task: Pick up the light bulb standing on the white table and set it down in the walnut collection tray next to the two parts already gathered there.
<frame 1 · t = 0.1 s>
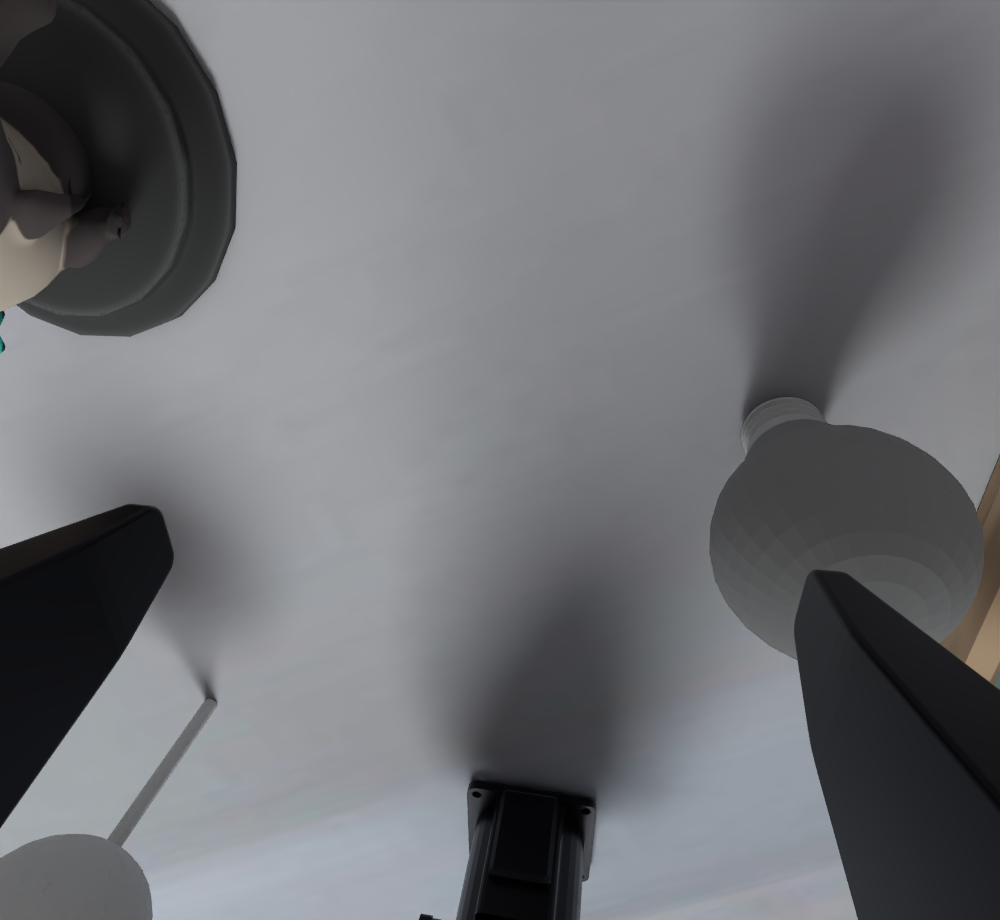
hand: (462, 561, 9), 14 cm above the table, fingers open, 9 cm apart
lollipop: (213, 700, 35), on the table
figurine: (85, 160, 23), on the table
light bulb: (778, 424, 23), on the table
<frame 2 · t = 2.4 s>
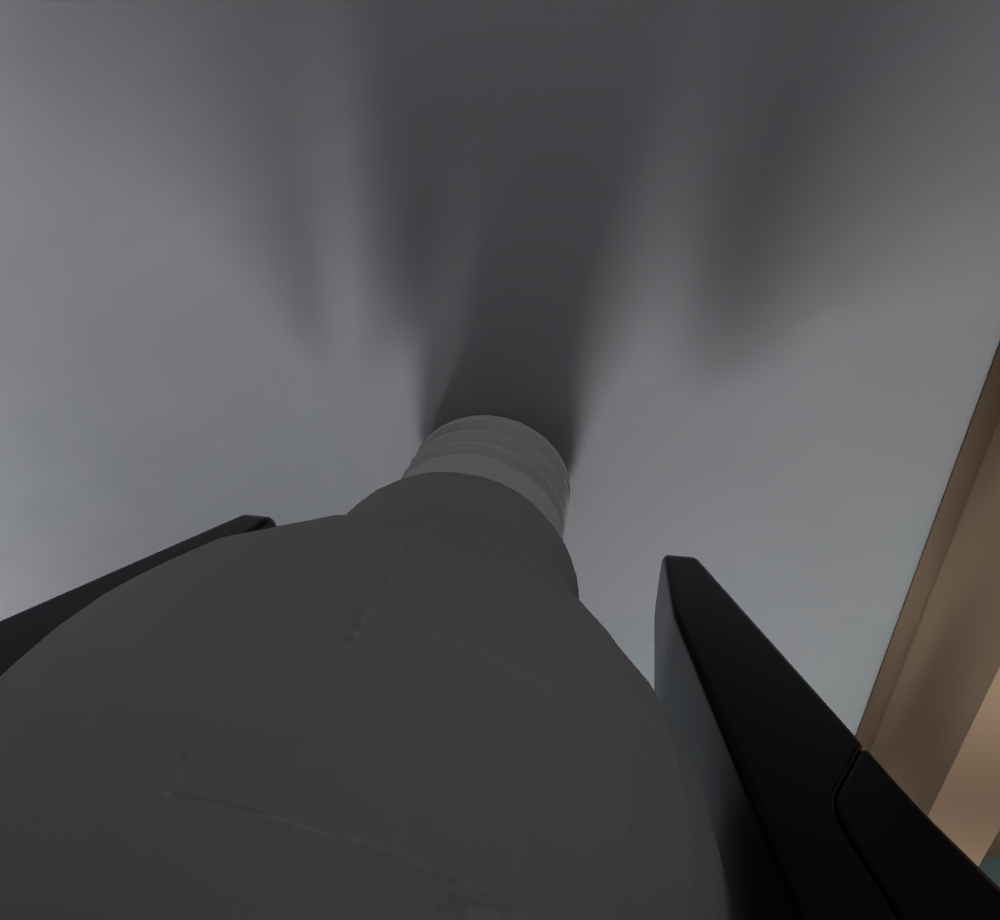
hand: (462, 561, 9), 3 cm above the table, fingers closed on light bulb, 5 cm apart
light bulb: (496, 466, 11), on the table, touching gripper
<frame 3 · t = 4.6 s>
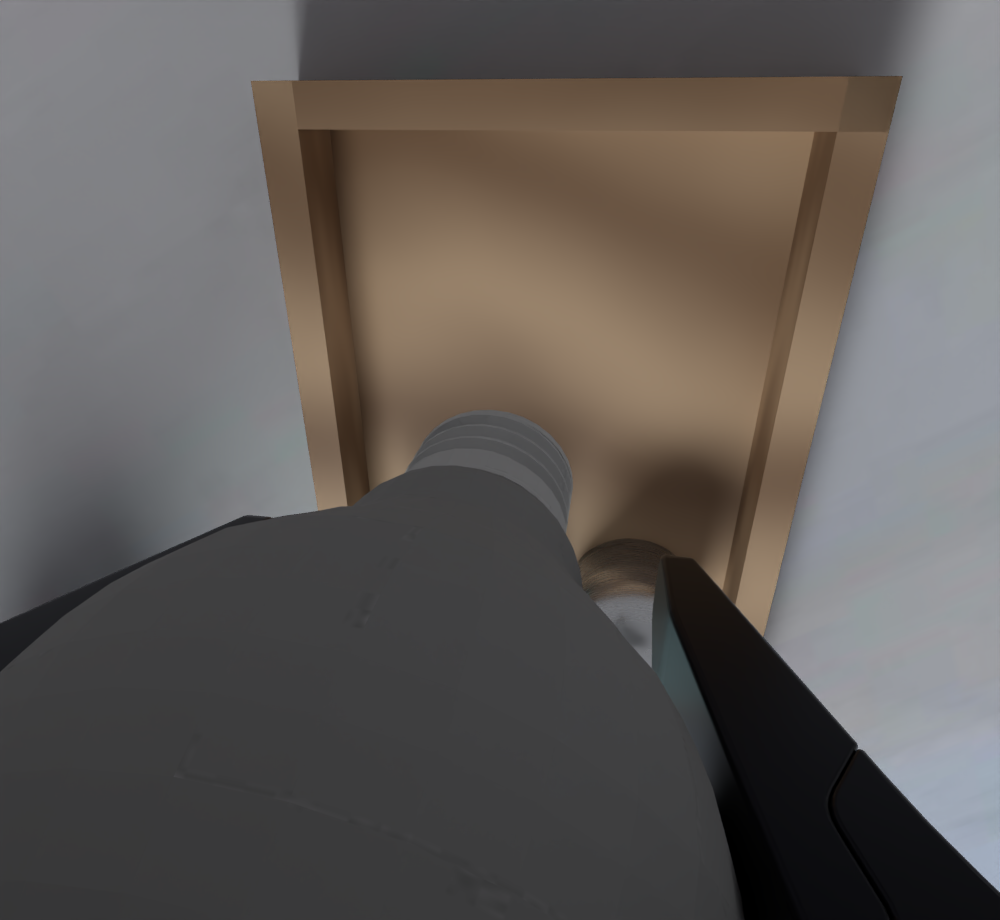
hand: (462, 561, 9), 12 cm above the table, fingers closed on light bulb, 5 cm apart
tray: (549, 441, 21), on the table
light bulb: (498, 462, 11), point 9 cm above the table, touching gripper
grey metal cylinder: (630, 586, 23), point 1 cm above the table, touching tray
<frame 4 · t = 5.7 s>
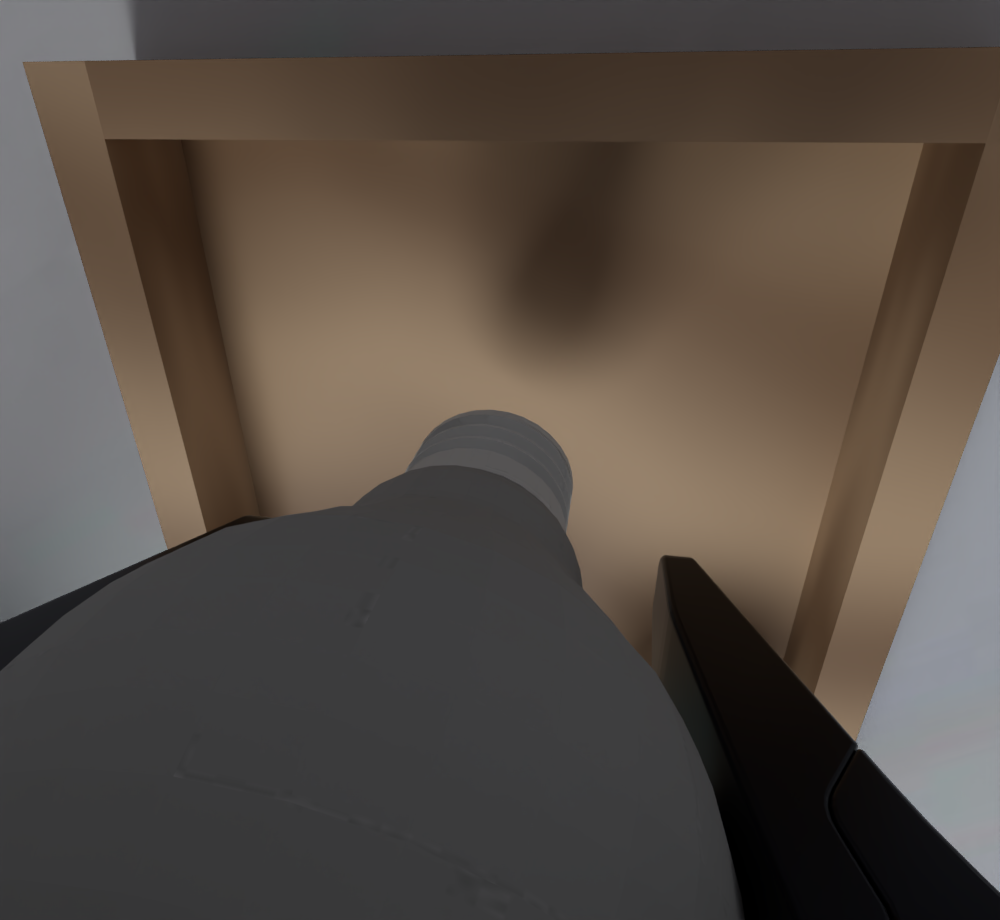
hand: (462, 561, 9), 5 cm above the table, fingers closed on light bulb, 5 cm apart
tray: (520, 563, 15), on the table
light bulb: (499, 462, 11), point 2 cm above the table, touching gripper
when the fingers open (5 cm above the table, at t = 6.6 s): light bulb drops 1 cm, resting on tray.
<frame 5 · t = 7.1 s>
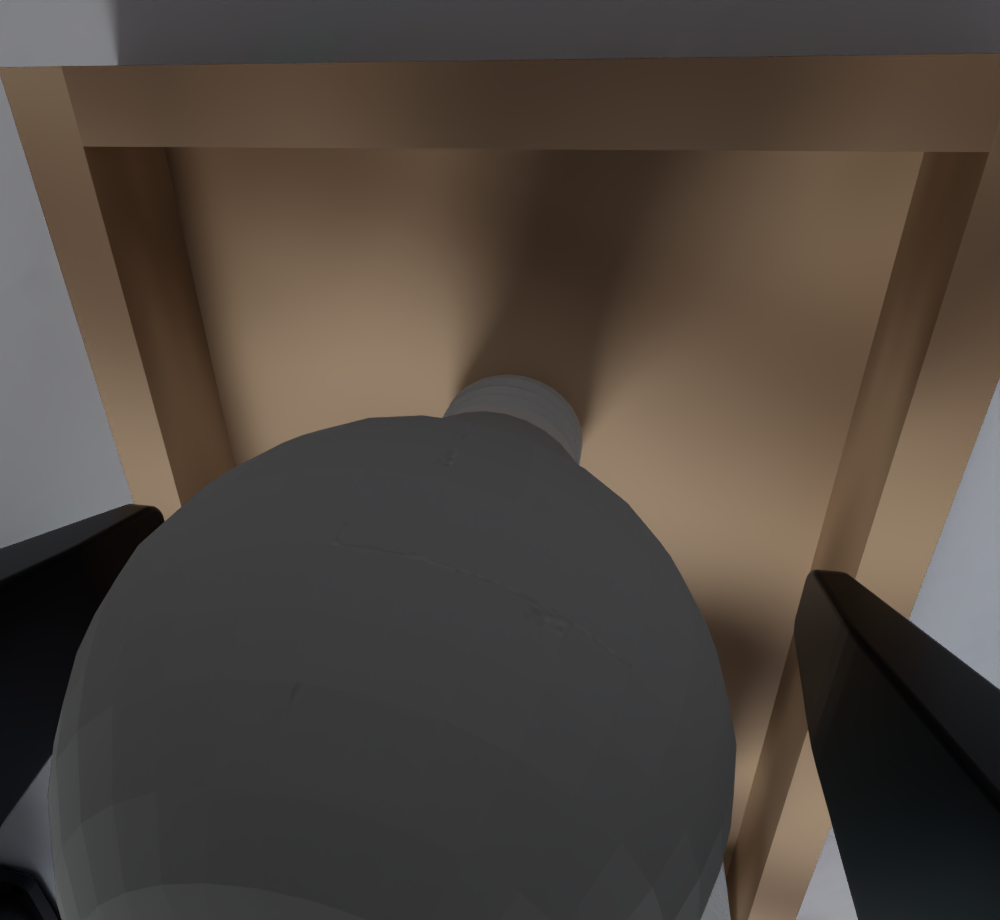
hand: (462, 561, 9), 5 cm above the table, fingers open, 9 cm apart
tray: (513, 576, 15), on the table
light bulb: (515, 425, 13), resting on tray
grey metal cylinder: (627, 763, 17), point 1 cm above the table, touching tray
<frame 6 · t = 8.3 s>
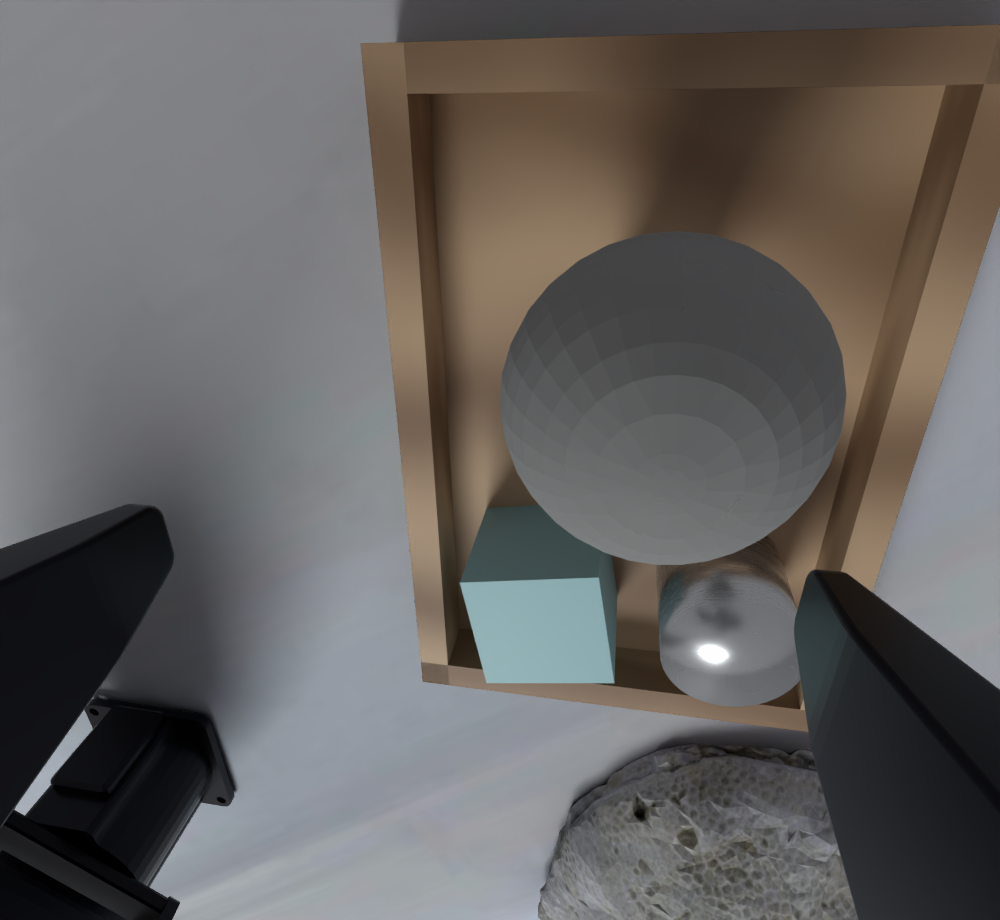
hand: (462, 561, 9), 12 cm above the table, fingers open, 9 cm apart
tray: (638, 419, 21), on the table
teal block: (553, 553, 23), point 1 cm above the table, touching tray
light bulb: (654, 294, 18), resting on tray
stone: (747, 846, 31), on the table
grey metal cylinder: (717, 568, 22), point 1 cm above the table, touching tray
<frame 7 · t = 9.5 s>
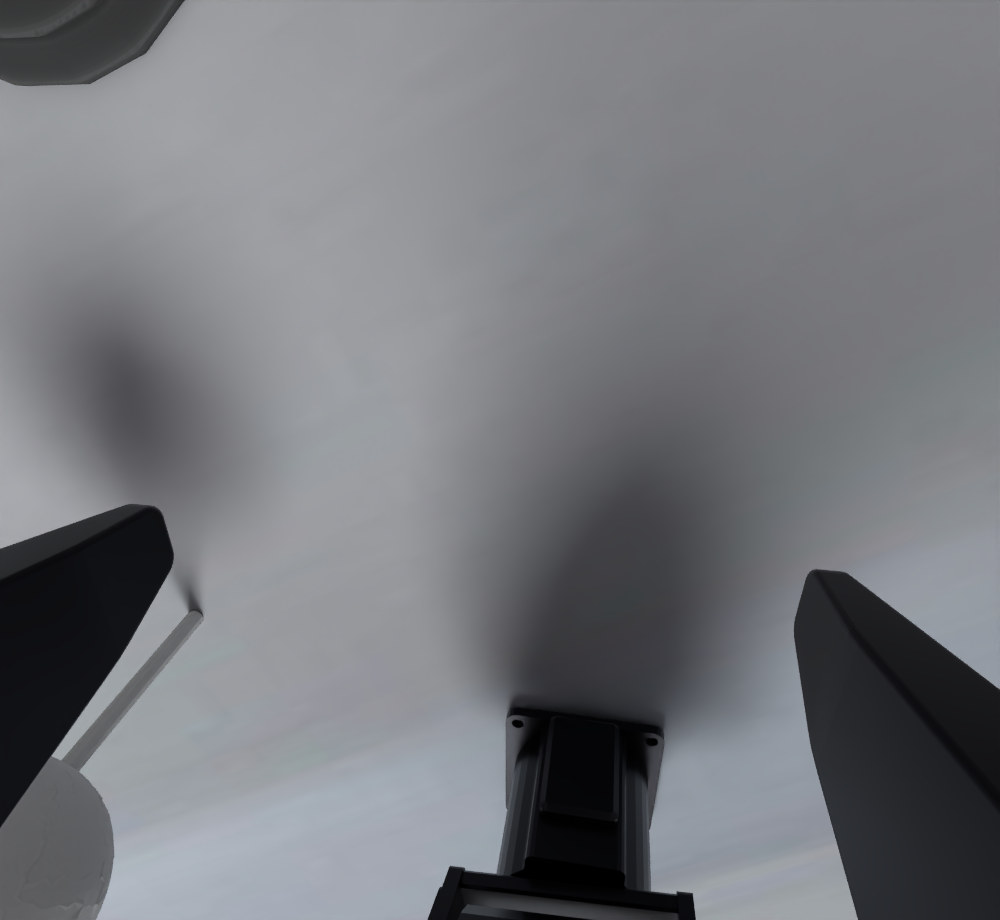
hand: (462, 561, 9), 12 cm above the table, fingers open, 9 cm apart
lollipop: (198, 613, 29), on the table
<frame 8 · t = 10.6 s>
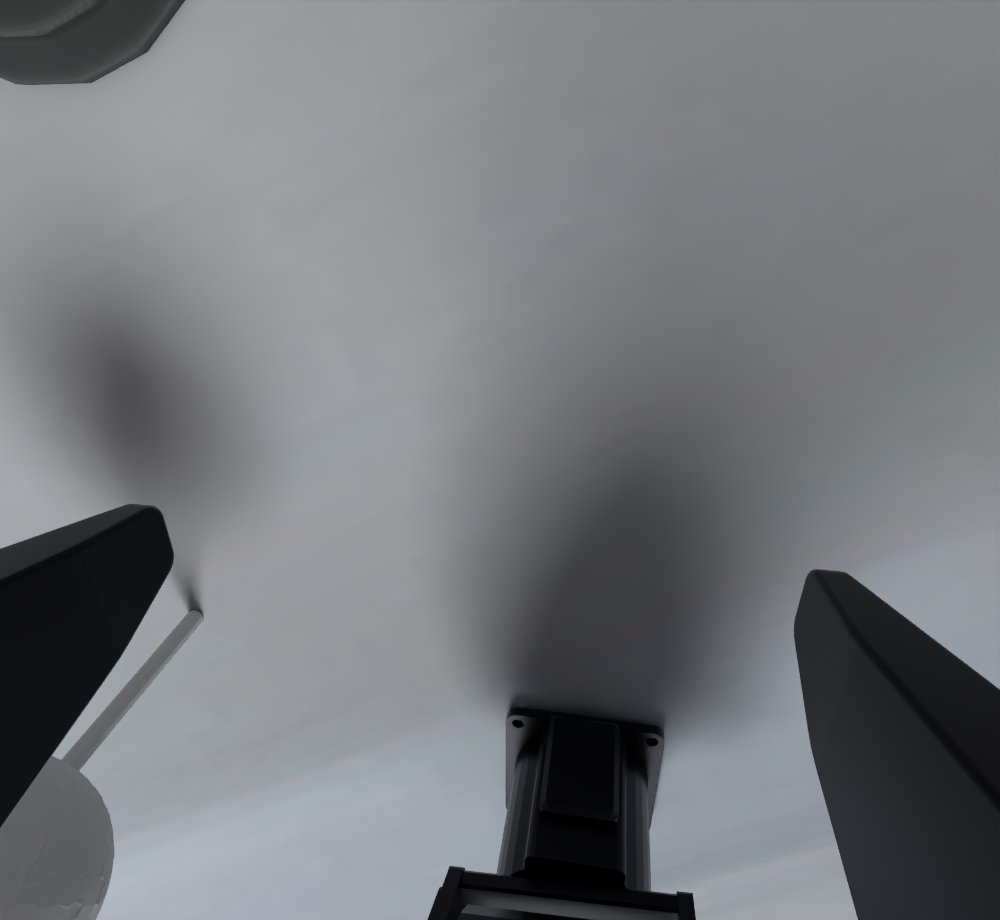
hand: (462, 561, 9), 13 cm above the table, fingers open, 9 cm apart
lollipop: (199, 612, 29), on the table
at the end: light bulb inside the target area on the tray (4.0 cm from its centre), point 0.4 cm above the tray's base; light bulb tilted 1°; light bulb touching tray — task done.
